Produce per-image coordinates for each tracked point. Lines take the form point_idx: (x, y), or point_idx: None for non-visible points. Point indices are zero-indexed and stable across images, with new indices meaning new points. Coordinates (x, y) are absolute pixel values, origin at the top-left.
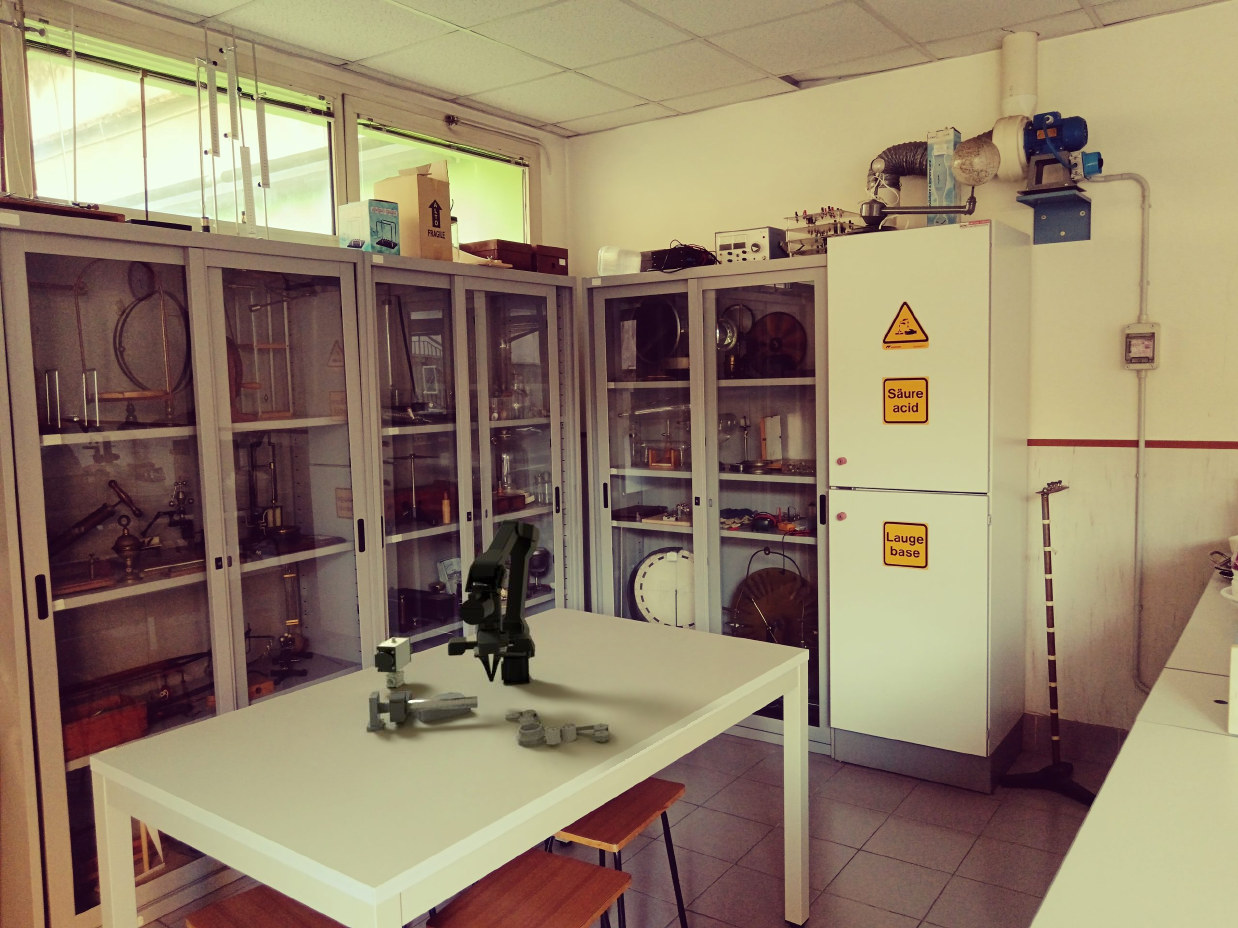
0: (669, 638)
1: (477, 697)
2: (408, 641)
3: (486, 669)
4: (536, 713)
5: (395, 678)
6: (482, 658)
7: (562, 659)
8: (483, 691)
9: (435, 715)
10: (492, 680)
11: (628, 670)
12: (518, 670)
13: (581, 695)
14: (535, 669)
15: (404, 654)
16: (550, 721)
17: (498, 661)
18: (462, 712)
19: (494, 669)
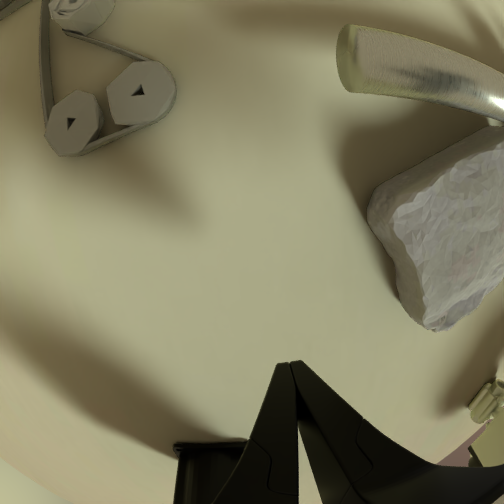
0: (53, 487)
1: (362, 77)
2: None
3: (349, 417)
4: (45, 116)
5: (496, 395)
6: (447, 485)
7: (154, 499)
8: None
9: (476, 136)
10: (282, 365)
11: (19, 431)
12: (203, 477)
13: (5, 333)
14: None
15: (498, 444)
16: (20, 89)
17: (227, 497)
18: (396, 175)
19: (272, 428)
